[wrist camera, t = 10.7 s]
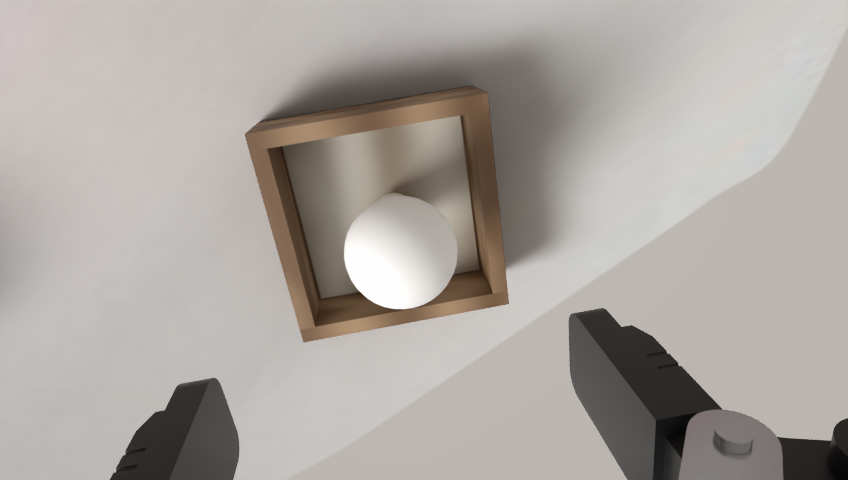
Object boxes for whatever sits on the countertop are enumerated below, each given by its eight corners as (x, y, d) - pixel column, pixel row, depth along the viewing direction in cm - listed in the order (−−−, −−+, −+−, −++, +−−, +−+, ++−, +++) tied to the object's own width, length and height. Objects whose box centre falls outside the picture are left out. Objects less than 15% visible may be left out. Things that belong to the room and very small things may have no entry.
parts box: (310, 309, 39) (303, 342, 35) (259, 121, 34) (244, 134, 29) (493, 275, 39) (508, 303, 35) (472, 85, 34) (487, 92, 30)
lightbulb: (404, 144, 34) (420, 192, 24) (454, 215, 36) (489, 287, 26) (329, 197, 35) (315, 265, 25) (383, 264, 37) (391, 351, 27)
